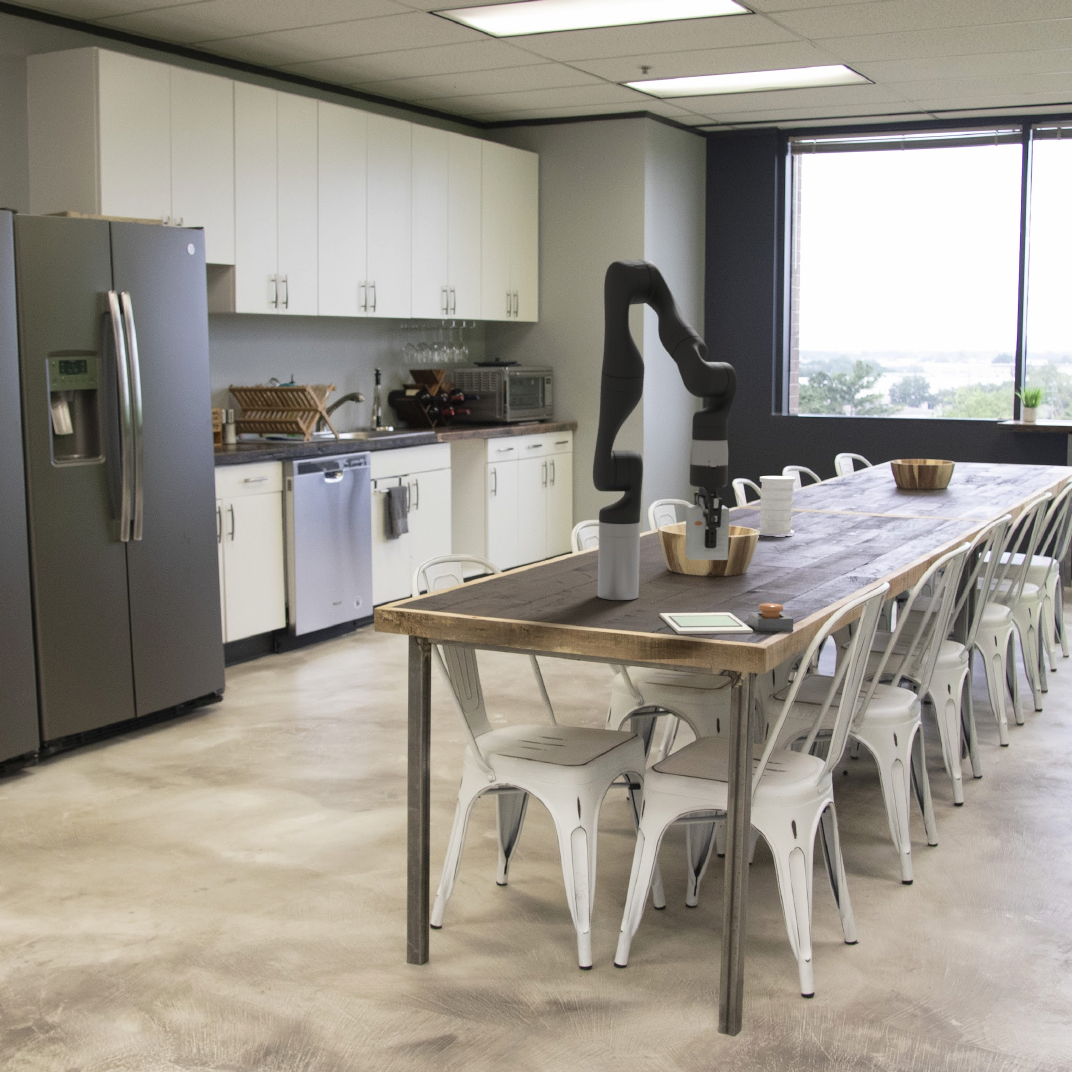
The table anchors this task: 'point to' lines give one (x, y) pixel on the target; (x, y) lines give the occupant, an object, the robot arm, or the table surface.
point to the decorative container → (776, 505)
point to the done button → (770, 610)
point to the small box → (697, 535)
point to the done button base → (770, 622)
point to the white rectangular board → (705, 623)
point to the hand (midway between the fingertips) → (706, 545)
